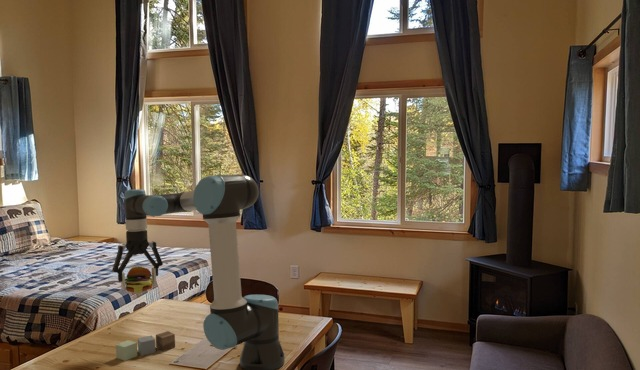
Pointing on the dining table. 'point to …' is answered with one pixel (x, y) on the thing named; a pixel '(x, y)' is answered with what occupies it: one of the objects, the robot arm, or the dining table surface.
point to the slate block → (146, 345)
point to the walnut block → (165, 340)
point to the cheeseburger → (138, 280)
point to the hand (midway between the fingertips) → (139, 287)
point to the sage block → (126, 350)
